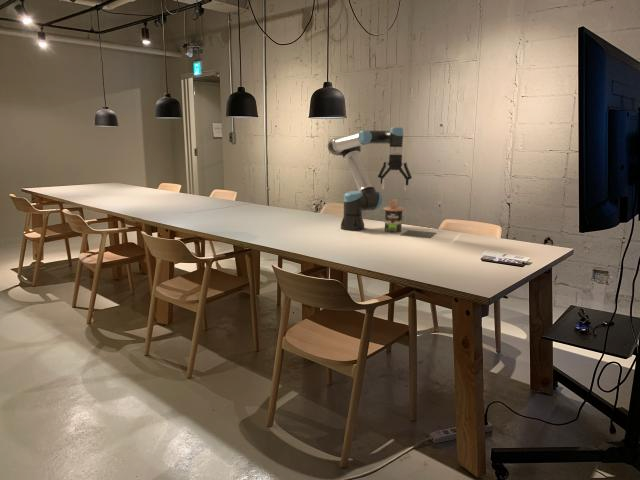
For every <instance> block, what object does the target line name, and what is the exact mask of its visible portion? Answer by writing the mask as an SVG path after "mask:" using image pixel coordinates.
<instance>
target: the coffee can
mask: <svg viewBox="0 0 640 480" xmlns="http://www.w3.org/2000/svg"><path fill="white" fill-rule="evenodd" d="M384 211H385V213H384V214H385V215H384V216H385V217H384V232H385V233H387V234H400V233H402V226H403V225H402V224H403V223H402V221H403V211H386V210H384Z"/></svg>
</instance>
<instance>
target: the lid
mask: <svg viewBox="0 0 640 480" xmlns="http://www.w3.org/2000/svg"><path fill="white" fill-rule="evenodd" d="M398 202H399V200H398V198H393V199H391V200H390V206H384V207H382V209H383V211H385V210H386V211H402V212H404V211H406V208H405V207H404V206H398Z"/></svg>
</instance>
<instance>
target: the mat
mask: <svg viewBox="0 0 640 480" xmlns="http://www.w3.org/2000/svg"><path fill="white" fill-rule="evenodd" d="M436 234H437V232H434V231H424V230H423V231H422V230H421V231H420V230H414V229H413V230H412V229H411V230H410V229H408V230H406V231H405V232H402V234H400V236H403V237H413V238H422V239H424V238H425V239H432V238H433V237H434V236H435V235H436Z"/></svg>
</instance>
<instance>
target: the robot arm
mask: <svg viewBox="0 0 640 480" xmlns="http://www.w3.org/2000/svg"><path fill="white" fill-rule="evenodd" d="M403 141H404V128H403V127H390V130H367V129H365V130H360V131H359V132H358V133H356V134H355V133H354V134H352V135H347V136H343V137H334V138H331V139H329V141H328V143H327V149H328V151H329V153H330V154H331V155H334V156H342V158H343V160H344V161H346V162H347V165H348V168H349V169H350V172H351V174H352V176H353V180H354V182H355V184H356V187H357V189H358V190H350V191H347V192H345V193H344V194H343V217H342V220H341V222H340V229H341V230H345V231H362V230H364V229H365V223H364V220H363V212H366V211H376V210H378V209H380V208H381V207H382V205H383V195H382V193H381V192H379V191H377V190H376V187H374V186H373V185H372V184H371V182H370V179H369V176H368V175H367V172H366V169H365V168H364V165H363V163H362V160H361V158H360V155H361V152H362V146H364V145H370V144H373V145H376V144H381V145H382V144H384V145H385V144H388V145H389V156H388V162H387V161H385V162H383V165H382V168H381V169H380V171H379V173H378V175H377V178H380V185H381V190H385V189H386V188H385V187H386V186H385V185H386V184H385V183H386V178H385V177H386V176H387V174H388V173H390V171H391V170H392V171H399V173H401V175H402V176H403V178H404V183H403V192H407V189H408V188H407V186H409V181H410V180H411V179H413V177H412V174H411V172H410V169H409V167H408V163H407V162H402V161H403V155H402V154H403ZM387 166H388V168H387ZM402 166H403V168H404V169H403V168H402ZM386 168H387V170H386V171H385V169H386ZM404 170H405V171H404Z"/></svg>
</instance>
